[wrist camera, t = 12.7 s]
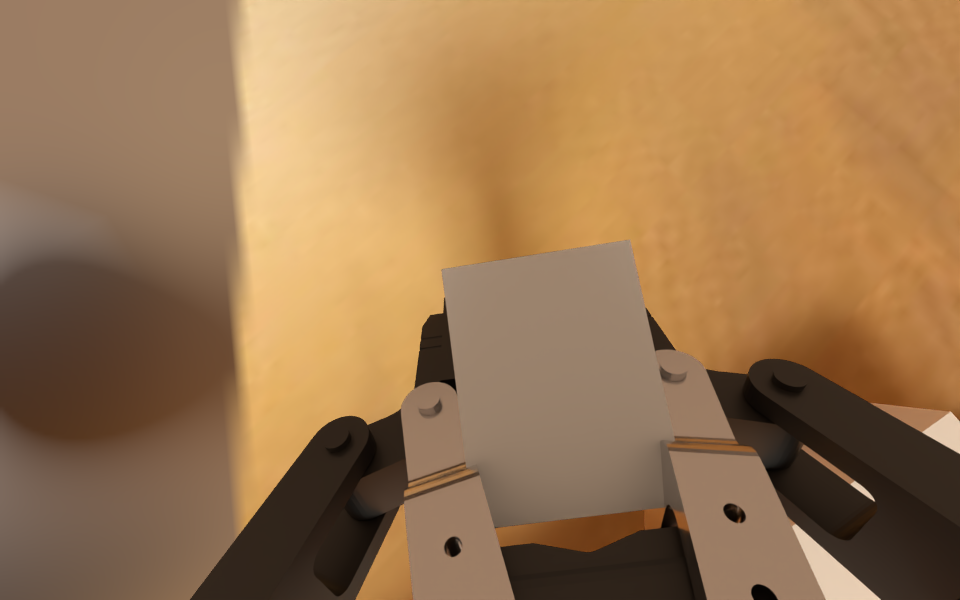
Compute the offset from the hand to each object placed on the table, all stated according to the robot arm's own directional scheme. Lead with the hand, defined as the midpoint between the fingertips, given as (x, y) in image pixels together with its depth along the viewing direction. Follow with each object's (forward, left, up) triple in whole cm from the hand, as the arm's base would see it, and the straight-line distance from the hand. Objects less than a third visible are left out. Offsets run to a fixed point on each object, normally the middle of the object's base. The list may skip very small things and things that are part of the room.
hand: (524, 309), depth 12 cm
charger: (+1, +2, -4) cm, 5 cm away
